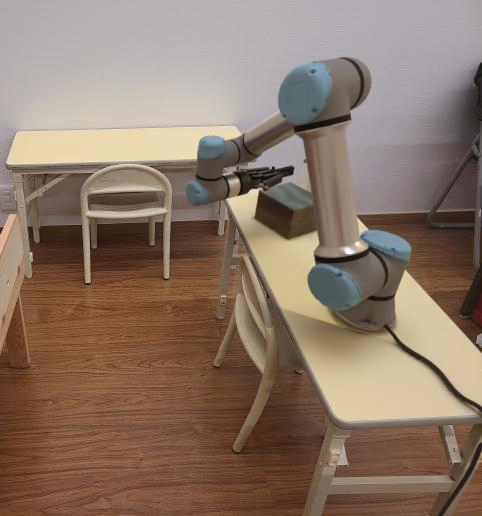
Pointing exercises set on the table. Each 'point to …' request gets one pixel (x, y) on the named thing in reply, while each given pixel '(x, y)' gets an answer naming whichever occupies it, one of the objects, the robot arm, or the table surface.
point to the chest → (284, 218)
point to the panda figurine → (305, 178)
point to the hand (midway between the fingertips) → (292, 170)
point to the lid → (289, 196)
